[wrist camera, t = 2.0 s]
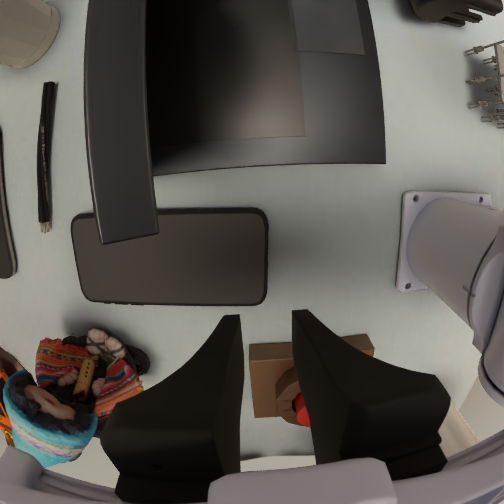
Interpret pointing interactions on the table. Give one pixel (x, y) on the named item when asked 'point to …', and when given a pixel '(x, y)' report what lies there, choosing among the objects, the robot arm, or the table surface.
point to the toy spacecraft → (3, 367)
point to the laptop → (262, 84)
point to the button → (301, 411)
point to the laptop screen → (118, 121)
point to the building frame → (503, 76)
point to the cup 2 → (455, 433)
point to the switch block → (282, 377)
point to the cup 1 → (26, 31)
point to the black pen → (44, 155)
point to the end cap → (455, 10)
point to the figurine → (71, 393)
